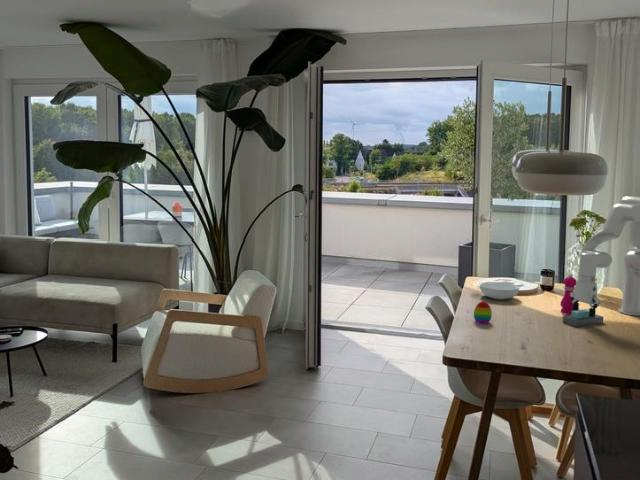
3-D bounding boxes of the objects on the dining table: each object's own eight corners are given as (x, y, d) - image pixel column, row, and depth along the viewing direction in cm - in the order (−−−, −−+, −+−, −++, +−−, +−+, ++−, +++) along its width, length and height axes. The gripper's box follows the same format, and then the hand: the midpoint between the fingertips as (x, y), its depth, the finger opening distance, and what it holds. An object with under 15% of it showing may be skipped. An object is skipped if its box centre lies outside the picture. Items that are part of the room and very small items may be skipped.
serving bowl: (525, 298, 360) (526, 286, 359) (506, 304, 345) (507, 291, 344) (491, 291, 374) (491, 279, 373) (471, 297, 359) (472, 285, 358)
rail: (589, 318, 321) (589, 312, 320) (602, 322, 314) (603, 316, 313) (562, 322, 313) (563, 316, 312) (575, 326, 306) (576, 320, 305)
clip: (588, 319, 318) (589, 308, 317) (594, 321, 314) (595, 310, 314) (570, 322, 312) (571, 311, 311) (576, 324, 309) (577, 312, 308)
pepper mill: (576, 315, 326) (579, 275, 323) (560, 314, 328) (564, 274, 325) (573, 311, 333) (577, 273, 330) (558, 310, 335) (561, 272, 332)
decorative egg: (491, 320, 313) (492, 300, 312) (491, 325, 305) (492, 304, 304) (473, 319, 315) (474, 298, 314) (473, 323, 307) (474, 302, 306)
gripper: (607, 281, 304) (604, 317, 307) (577, 274, 319) (574, 308, 322) (596, 283, 301) (592, 319, 303) (566, 275, 316) (563, 310, 319)
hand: (583, 313), depth 313 cm, fingers open, 9 cm apart
